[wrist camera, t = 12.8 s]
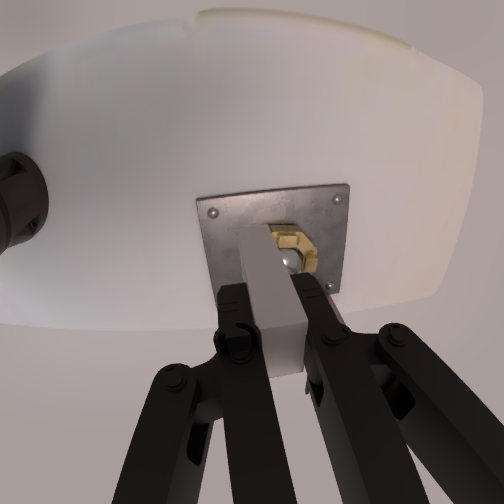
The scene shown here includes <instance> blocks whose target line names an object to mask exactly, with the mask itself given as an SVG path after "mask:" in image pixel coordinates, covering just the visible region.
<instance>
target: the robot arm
mask: <svg viewBox="0 0 504 504" xmlns="http://www.w3.org/2000/svg"><path fill="white" fill-rule="evenodd" d="M47 213H48V193H47V188H46V184H45V181H44V178H43V176H42V174H41V172H40V170H39V168H38V167H37V165H36V164H35V163H34V162H33V161H32V160H31V159H30V158H29V157H28V156H26V155H24V154H22V153H17V152H13V153H9V154H6V155H4V156H2V157H0V255H1V254H2V253H3V252H4V251H5V250H6V249H7V248H9V247H12V246H15V245H17V244H20V243H23V242H26V241H28V240H29V239H31V238H32V237H33V236H34V235H35V234H36V233H37V232H38V231H39V230H40V229H41V228H42V226H43V225H44V223H45V220H46V217H47ZM237 234H238V242H239V250H240V259H241V267H242V275H243V280H244V283H237V284H230V285H223V286H221V288H220V289H219V291H218V293H217V309H218V326H219V328H218V329H217V331H216V332H215V334H214V339H213V341H214V344H215V348H216V351H217V353H216V354H215V355H214V357H213V358H211V359H210V360H209V361H207V362H205V363H203V364H201V365H198V366H195V367H193V368H190V367H189V366H187V365H184V364H181V363H179V364H170V365H167V366H165V367H163V368H162V369H161V370H160V371H158V373H157V374H156V376H155V377H154V380H153V382H152V385H151V388H150V390H149V393H148V396H147V398H146V401H145V404H144V407H143V409H142V412H141V415H140V417H139V420H138V423H137V426H136V429H135V432H134V435H133V437H132V440H131V443H130V446H129V449H128V452H127V456H126V458H125V461H124V465H123V468H122V471H121V474H120V477H119V481H118V483H117V487H116V490H115V493H114V497H113V500H112V504H197V502H198V497H199V492H200V488H201V482H202V478H203V472H204V468H205V463H206V458H207V453H208V448H209V444H210V439H211V434H212V429H213V424H214V421H215V420H218V419H220V418H223V420H224V430H225V440H226V448H227V457H228V465H229V473H230V481H231V489H232V496H233V502H234V504H297V501H296V496H295V492H294V487H293V483H292V479H291V475H290V470H289V466H288V462H287V457H286V453H285V449H284V445H283V440H282V435H281V432H280V427H279V422H278V418H277V413H276V409H275V405H274V400H273V395H272V391H271V386H270V382H269V378H273V377H279V376H284V375H289V374H294V373H299V372H303V370H304V365H305V368H306V371H307V382H306V388H305V393H306V394H308V393H309V392H310V395H311V399H312V402H313V405H314V408H315V412H316V414H317V418H318V421H319V424H320V428H321V431H322V435H323V437H324V441H325V444H326V448H327V451H328V454H329V458H330V461H331V464H332V468H333V471H334V475H335V478H336V481H337V485H338V488H339V492H340V495H341V498H342V502H343V504H430V503H429V500H428V498H427V495H426V492H425V490H424V487H423V484H422V481H421V479H420V476H419V474H418V471H417V470H416V466H415V464H414V461H413V459H412V456H411V454H410V452H409V449H408V447H407V445H408V446H409V447H410V449H411V450H412V451H413V452H414V454H415V455H416V456H417V458H418V459H419V460H420V461H421V463H422V464H423V465H424V466H425V468H426V469H427V470H428V471H429V473H430V474H431V475H432V477H433V478H434V479H435V480H436V482H437V483H438V484H439V486H440V487H441V488H442V489H443V491H444V492H445V493H446V494H447V496H448V497H449V498H450V499H451V501H452V502H453V503H454V504H504V426H503V425H502V423H501V422H500V421H499V420H498V419H497V418H496V417H495V415H494V414H493V413H492V412H491V411H490V410H489V409H488V408H487V407H486V405H485V404H484V403H483V402H482V401H481V400H480V399H479V398H478V397H477V396H476V394H474V392H473V391H472V390H471V389H470V388H469V387H468V386H467V385H466V384H465V383H464V382H463V381H462V380H461V379H460V378H459V377H458V376H457V375H456V374H455V373H454V372H453V370H452V369H451V368H450V367H449V366H448V365H447V364H446V363H445V362H444V361H443V360H442V359H441V358H440V357H439V356H438V355H437V354H436V353H435V352H434V351H432V349H431V348H429V347H428V346H427V345H426V344H425V343H424V342H423V341H422V340H421V339H420V338H419V337H418V336H417V335H416V334H415V333H414V332H413V331H412V330H411V329H409V328H408V327H407V326H405V325H403V324H399V323H389V324H386V325H384V326H383V327H382V328H381V329H380V330H379V333H378V334H364V333H356V332H352V331H351V329H350V328H349V327H347V326H346V325H344V324H342V323H340V322H339V320H338V318H337V316H336V314H335V312H334V311H333V309H332V307H331V305H330V303H329V301H328V299H327V297H326V296H325V293H324V291H323V290H322V289H321V286H320V284H319V282H318V280H317V279H316V278H315V277H314V276H313V275H311V274H310V273H309V272H304V273H298V274H292V275H289V273H288V270H287V268H286V266H285V263H284V261H283V259H282V256H281V254H280V252H279V249H278V247H277V245H276V242H275V240H274V238H273V235H272V233H271V231H270V229H269V226H268V224H265V225H257V226H249V227H242V228H237Z"/></svg>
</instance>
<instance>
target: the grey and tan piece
mask: <svg viewBox="0 0 504 504" xmlns="http://www.w3.org/2000/svg"><path fill="white" fill-rule="evenodd" d="M269 229H270V231H271V233H272V235H273V238H274V240H275V242H276V245H278V247H279V248H294V247H297V248H298V249H299V257H300V259H301V263H302V265H301V269H300V271H299V273H304V272H309V273H310V274H313V272H316V267H317V262H318V257H317V248H316V247H315V245H314V244H313V242H312V241H311V240H310V239H309V238H308V237H307V235H306V234H305V233H304V232H303V231H302V230H301V229H300V228H299V227H298V225H270V226H269ZM321 289H322V290H323V291H324V293H325V296H326V297H327V299H328V301H329V303H330V305H331V307H332V309H333V311H334V312H335V314H336V316H337V318H338V320H339V322H340V323H342V324H344V325H346V324H345V322H344V320H343V319H342V317H341V315H340V313H339V311H338V309H337V307H336V305H335V303H334V302H333V300H332V298H331V297H330V295H329V294H328V293H327V292H326V291H325V290H324V289H323V288H322V287H321Z"/></svg>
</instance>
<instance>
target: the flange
mask: <svg viewBox="0 0 504 504" xmlns="http://www.w3.org/2000/svg"><path fill="white" fill-rule="evenodd" d="M349 194H350V186H349V185H348V184H337V185H322V186H308V187H296V188H285V189H274V190H265V191H255V192H246V193H238V194H230V195H222V196H214V197H207V198H200V199H197V201H196V202H197V208H198V213H199V219H200V225H201V231H202V236H203V242H204V247H205V252H206V257H207V263H208V268H209V273H210V278H211V283H212V288H213V292H214V297H215V302H216V306H217V293H218V291H219V289H220V288H221V286H223V285H230V284H237V283H244V280H243V275H242V267H241V259H240V250H239V242H238V234H237V228H242V227H249V226H257V225H265V224H268V226H270V225H298V227H299V228H300V229H301V230H302V231H303V232H304V233H305V234H306V235H307V237H308V238H309V239H310V240H311V241H312V242H313V244H314V245H315V247H316V248H317V257H318V262H317V267H316V272H313V274H311V275H313V276H314V277H315V278H316V279H317V280H318V282H319V284H320V286H321V287H322V288H323V289H324V290H325V291H326V292H327V293H328V294H335V293H339V290H340V283H341V276H342V268H343V260H344V252H345V243H346V233H347V221H348V209H349ZM277 247H278V245H277ZM278 249H279V252H280V254H281V256H282V259H283V261H284V263H285V266H286V268H287V270H288V273H289V275H292V274H298V273H299V271H300V269H301V265H302V263H301V259H300V257H299V249H298V248H297V247H294V248H279V247H278ZM217 311H218V309H217Z"/></svg>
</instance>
